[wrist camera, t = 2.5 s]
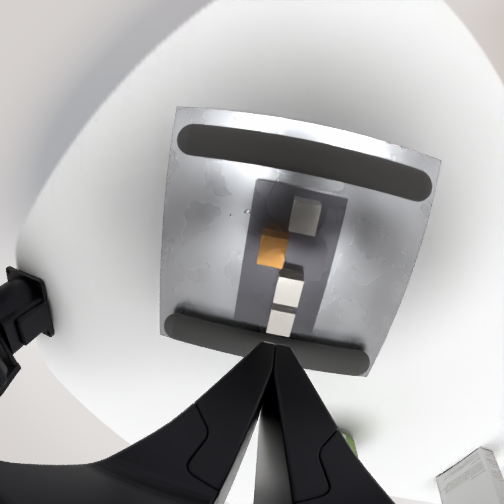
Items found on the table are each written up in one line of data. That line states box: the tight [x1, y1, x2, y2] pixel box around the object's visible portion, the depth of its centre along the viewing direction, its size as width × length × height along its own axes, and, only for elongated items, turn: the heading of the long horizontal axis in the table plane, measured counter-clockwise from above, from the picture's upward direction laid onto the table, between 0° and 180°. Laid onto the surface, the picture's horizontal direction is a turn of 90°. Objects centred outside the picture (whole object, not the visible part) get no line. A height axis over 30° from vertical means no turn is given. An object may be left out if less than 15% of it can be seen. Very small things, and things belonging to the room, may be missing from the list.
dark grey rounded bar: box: [177, 124, 432, 202], centre depth 13 cm, size 13×2×2 cm, turn 81°
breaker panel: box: [160, 107, 441, 377], centre depth 16 cm, size 14×14×4 cm
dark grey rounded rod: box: [164, 313, 370, 376], centre depth 16 cm, size 13×2×2 cm, turn 81°
